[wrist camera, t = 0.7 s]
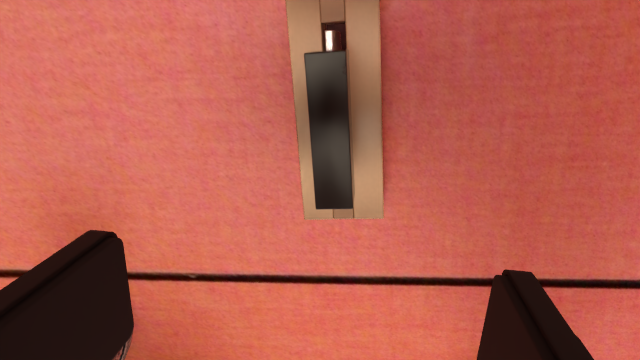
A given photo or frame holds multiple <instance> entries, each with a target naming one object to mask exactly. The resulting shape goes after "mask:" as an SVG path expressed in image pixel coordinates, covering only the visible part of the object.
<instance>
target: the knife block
mask: <svg viewBox="0 0 640 360" xmlns="http://www.w3.org/2000/svg"><path fill="white" fill-rule="evenodd" d="M285 1H286V12H287V24H288V36H289V47H290V59H291V70H292V82H293V93H294V105H295V117H296V128H297V140H298V151H299V163H300V175H301V186H302V198H303V209H304V219H305V220H320V219H333V218H334V219H383V218H384V195H383V143H382V91H381V39H380V0H285ZM342 23H345V27H346V49H348V50H349V68H350V91H351V114H352V138H353V161H354V184H355V196H354V205H353V209H321V210H317V209H316V207H315V193H314V180H313V167H312V154H311V141H310V128H309V115H308V102H307V88H306V75H305V62H304V53H308V52H314V51H326V43H325V30H327V28H326V24H327V25H329V24H342Z"/></svg>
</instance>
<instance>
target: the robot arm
mask: <svg viewBox="0 0 640 360" xmlns="http://www.w3.org/2000/svg"><path fill="white" fill-rule="evenodd" d="M133 327H134V322H133V315H132V307H131V300H130V292H129V284H128V277H127V269H126V262H125V254H124V246H123V242H122V240H121V239H120V238H118V237H117V235H116V234H115V233H114V232H107V231H97V230H90V231H87V232H86V233H84V234H83V235H81V236H80V237H78V238H77V239H76V240H74V241H73V242H71V243H70V244H68V245H67V246H65V247H64V248H62V249H61V250H59V251H58V252H56V253H55V254H53V255H52V256H50V257H49V258H47V259H46V260H44V261H43V262H41V263H40V264H38V265H37V266H35V267H34V268H32V269H31V270H29V271H28V272H27V273H25V274H24V275H22V276H21V277H19V278H18V279H16V280H15V281H13V282H12V283H10V284H9V285H7V286H6V287H4V288H3V289H1V290H0V360H113V358H114V357H115V356H116V355H117V353H118V352H119V351H120V350H121V349H122V347H123V346H124V345H125V344H126V342H127V341H128V340H129V338H130V337H131V335H132V332H133ZM477 360H594V359H593V358H592V356H591V355H590V353H589V352H588V350H587V349H586V347H585V346H584V345H583V343H582V342H581V340H580V339H579V338H578V337H577V336H576V335H575V334H574V333H573V331H572V330H571V328H570V327H569V325H568V324H567V323H566V321H565V320H564V318H563V317H562V315H561V314H560V312H559V311H558V309H557V308H556V307H555V305H554V304H553V302H552V301H551V299H550V298H549V296H548V295H547V293H546V292H545V290H544V289H543V288H542V286H541V285H540V283H539V282H538V280H537V279H536V277H535V276H534V274H533V273H532V272H525V271H515V270H504V271H503V273H502V275H495V277H494V279H493V283H492V288H491V293H490V298H489V303H488V307H487V312H486V317H485V322H484V327H483V332H482V336H481V341H480V346H479V351H478V356H477Z"/></svg>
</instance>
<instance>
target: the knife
mask: <svg viewBox="0 0 640 360" xmlns="http://www.w3.org/2000/svg"><path fill="white" fill-rule="evenodd" d="M325 43H326V51H314V52H308V53H304V62H305V75H306V88H307V102H308V115H309V128H310V141H311V154H312V167H313V180H314V193H315V207H316V209H317V210H321V209H353V205H354V196H355V184H354V161H353V138H352V114H351V91H350V68H349V50H348V49H344V50H341V32H338V31H334V30H325Z"/></svg>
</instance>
